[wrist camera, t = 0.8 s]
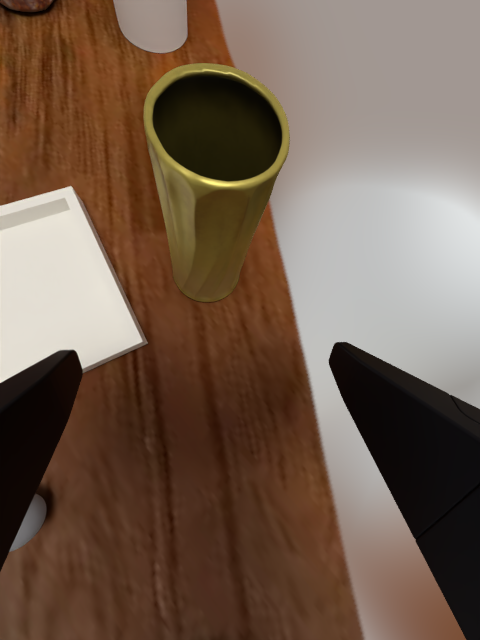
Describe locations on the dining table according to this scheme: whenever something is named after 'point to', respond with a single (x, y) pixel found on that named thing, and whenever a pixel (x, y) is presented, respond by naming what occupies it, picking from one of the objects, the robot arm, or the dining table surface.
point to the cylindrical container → (153, 23)
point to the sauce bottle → (26, 5)
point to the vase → (213, 169)
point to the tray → (59, 287)
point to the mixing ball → (31, 522)
